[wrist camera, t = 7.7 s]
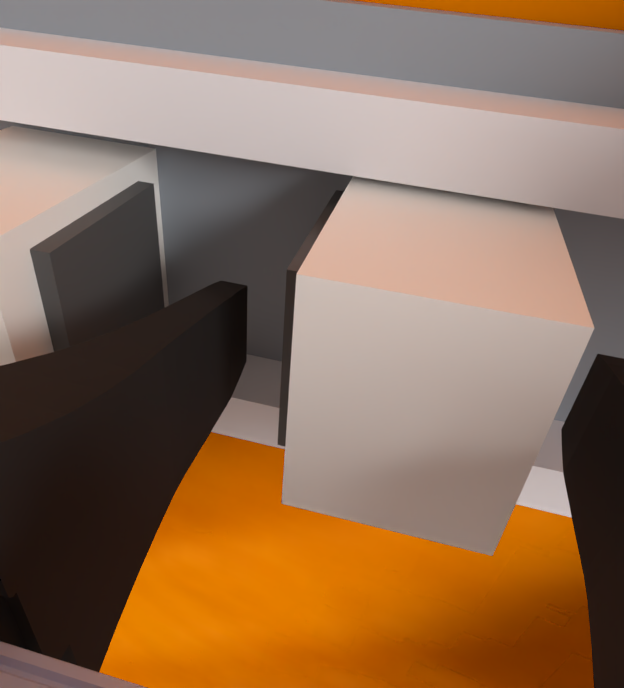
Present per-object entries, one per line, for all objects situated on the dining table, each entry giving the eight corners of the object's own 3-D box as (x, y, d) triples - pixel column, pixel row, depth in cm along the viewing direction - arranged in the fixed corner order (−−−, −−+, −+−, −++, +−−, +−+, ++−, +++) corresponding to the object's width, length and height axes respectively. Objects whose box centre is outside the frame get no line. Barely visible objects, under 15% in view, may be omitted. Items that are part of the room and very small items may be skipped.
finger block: (544, 183, 12) (594, 327, 7) (485, 365, 15) (492, 555, 10) (347, 155, 13) (269, 269, 8) (327, 334, 15) (262, 498, 11)
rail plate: (822, 52, 10) (1237, 147, 5) (587, 476, 17) (643, 719, 12) (-12, -40, 13) (-381, -49, 7) (73, 360, 20) (-83, 513, 14)
